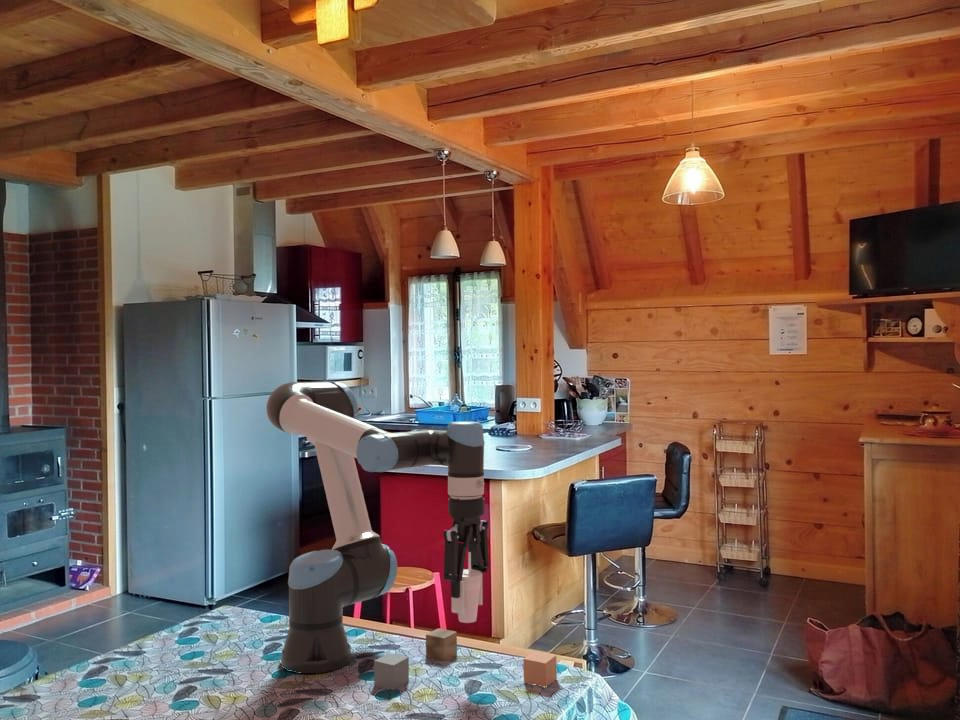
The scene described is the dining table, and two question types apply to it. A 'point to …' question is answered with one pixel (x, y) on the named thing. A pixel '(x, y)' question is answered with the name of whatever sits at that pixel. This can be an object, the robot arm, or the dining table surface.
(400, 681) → the grey cube
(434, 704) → the dining table surface
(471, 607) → the smoothie
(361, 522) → the robot arm
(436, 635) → the walnut block
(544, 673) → the terracotta block
